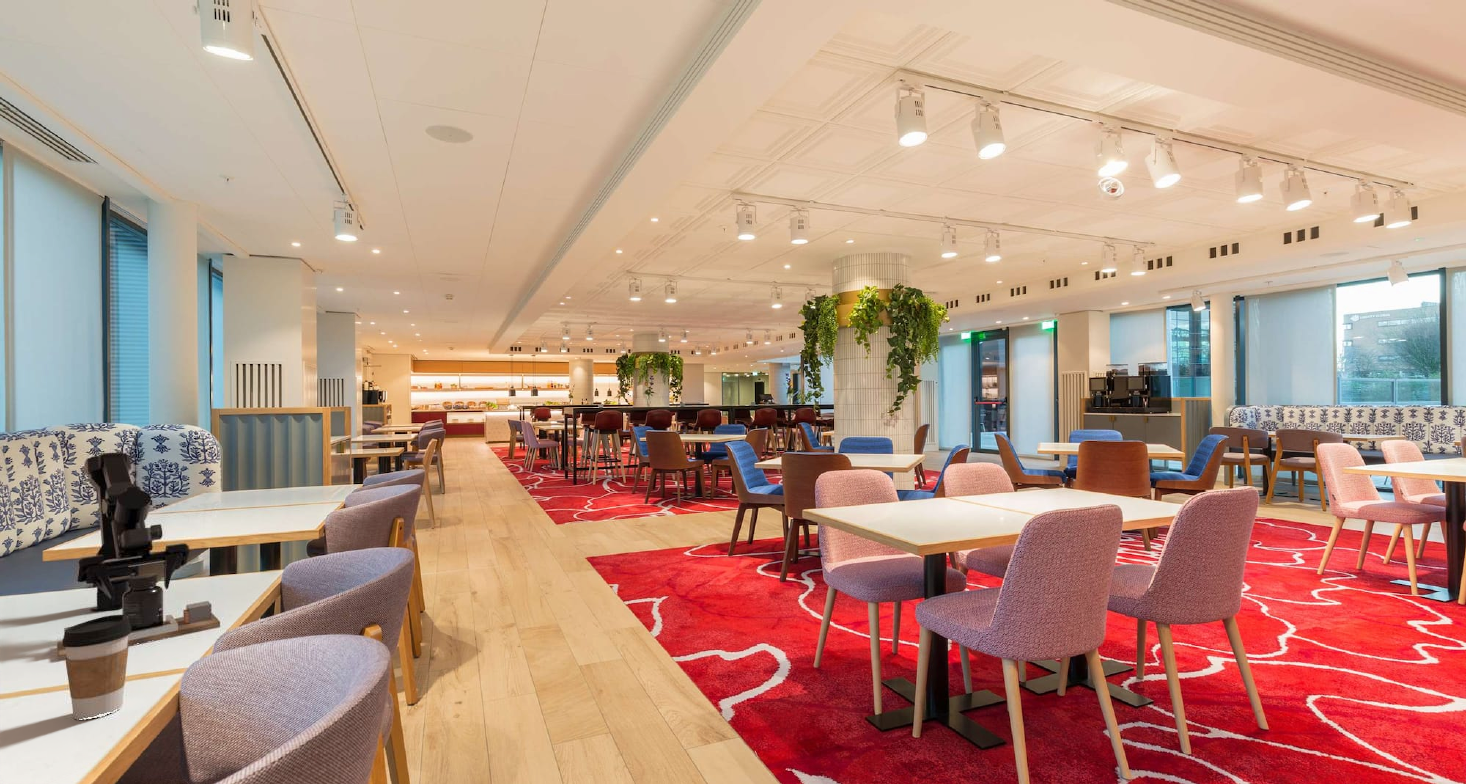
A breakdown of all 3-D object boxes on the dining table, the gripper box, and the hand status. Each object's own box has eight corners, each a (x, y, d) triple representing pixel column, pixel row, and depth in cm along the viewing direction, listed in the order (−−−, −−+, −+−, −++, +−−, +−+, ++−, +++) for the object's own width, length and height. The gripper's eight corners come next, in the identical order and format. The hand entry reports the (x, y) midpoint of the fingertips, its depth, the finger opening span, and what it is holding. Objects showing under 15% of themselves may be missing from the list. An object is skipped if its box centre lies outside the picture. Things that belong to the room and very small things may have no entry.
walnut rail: (210, 616, 161) (210, 597, 161) (220, 626, 154) (219, 606, 154) (57, 647, 142) (56, 625, 142) (59, 661, 135) (59, 637, 135)
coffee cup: (144, 704, 114) (143, 616, 114) (82, 728, 106) (81, 633, 106) (112, 698, 117) (111, 612, 117) (50, 720, 109) (49, 628, 109)
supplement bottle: (170, 628, 150) (169, 574, 150) (132, 638, 144) (131, 582, 144) (153, 623, 153) (153, 571, 153) (115, 633, 147) (115, 578, 147)
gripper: (77, 521, 145) (85, 581, 138) (187, 508, 159) (199, 562, 152) (73, 552, 150) (80, 611, 143) (179, 537, 164) (191, 591, 157)
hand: (140, 592), depth 148 cm, fingers open, 9 cm apart
